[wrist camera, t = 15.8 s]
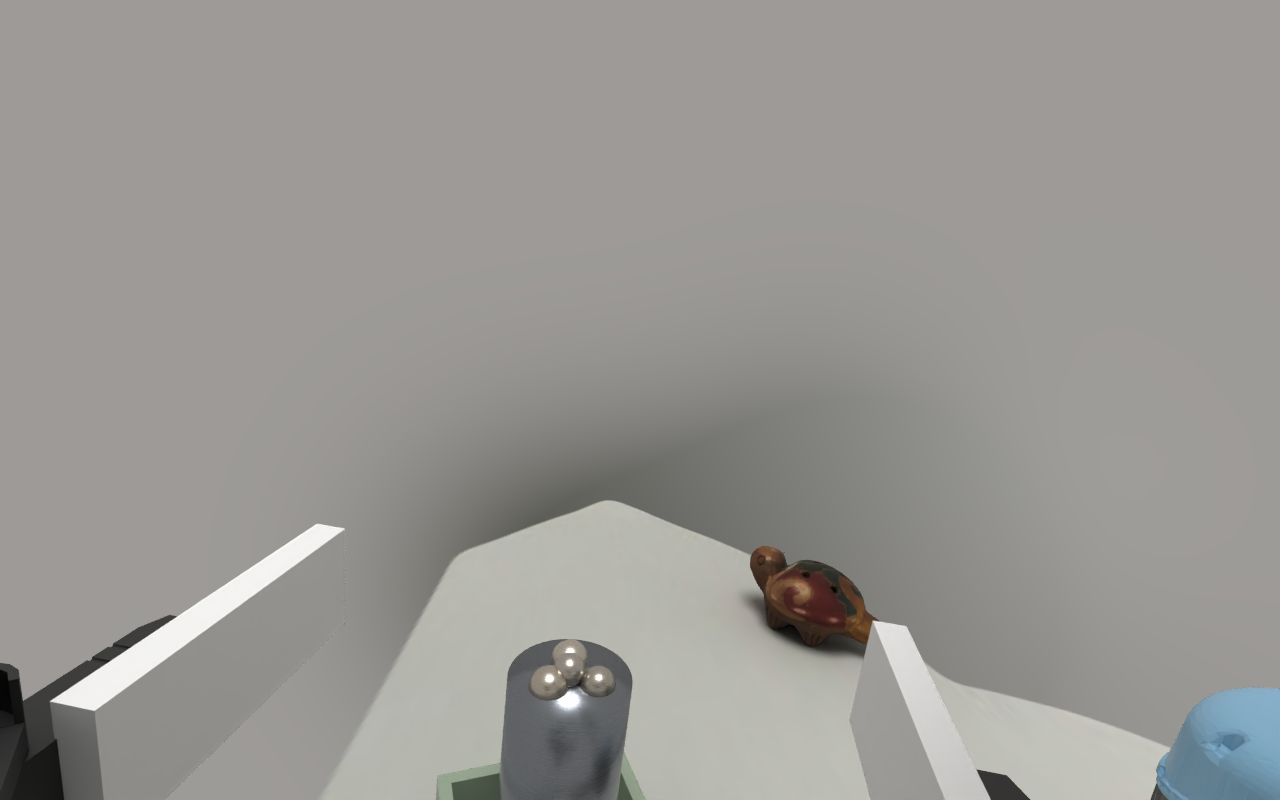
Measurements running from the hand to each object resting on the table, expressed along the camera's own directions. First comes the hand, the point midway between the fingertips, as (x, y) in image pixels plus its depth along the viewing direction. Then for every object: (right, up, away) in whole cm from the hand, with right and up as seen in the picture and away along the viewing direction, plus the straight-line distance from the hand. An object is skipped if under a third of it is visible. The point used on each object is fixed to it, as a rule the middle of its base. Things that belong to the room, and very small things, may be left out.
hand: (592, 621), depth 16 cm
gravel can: (-4, -24, +23) cm, 33 cm away
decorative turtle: (+19, -20, +55) cm, 62 cm away
